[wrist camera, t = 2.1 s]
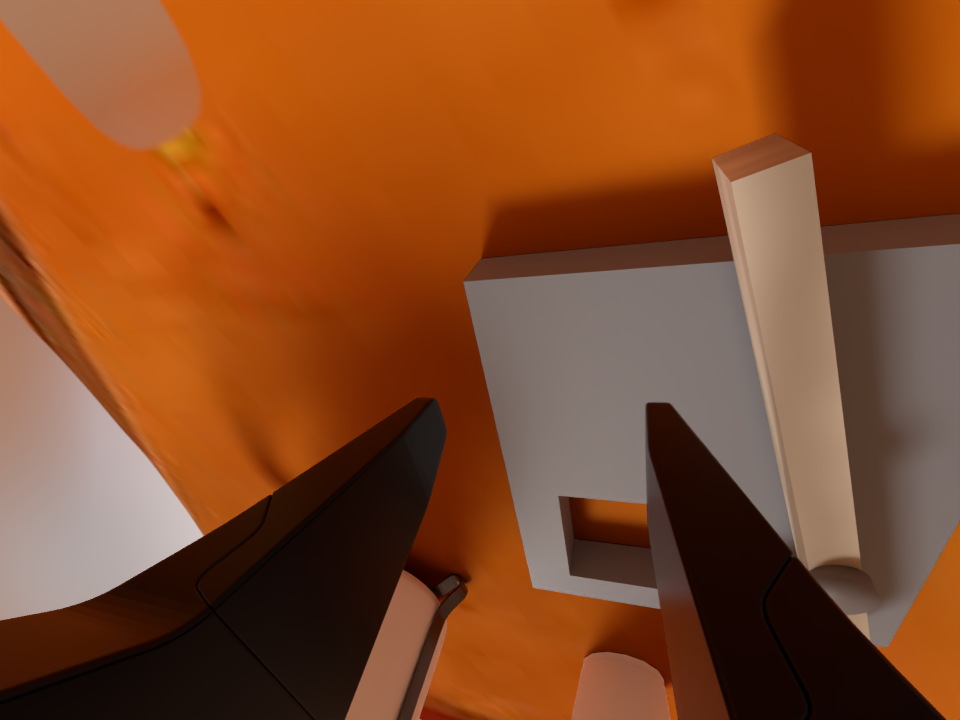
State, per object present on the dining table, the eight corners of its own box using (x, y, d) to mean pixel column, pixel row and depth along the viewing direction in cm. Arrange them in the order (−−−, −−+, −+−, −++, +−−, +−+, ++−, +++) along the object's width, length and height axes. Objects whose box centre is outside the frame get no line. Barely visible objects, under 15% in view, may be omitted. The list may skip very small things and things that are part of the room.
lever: (785, 128, 11) (836, 151, 9) (857, 634, 21) (892, 724, 18) (701, 162, 12) (722, 193, 9) (807, 632, 22) (833, 717, 19)
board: (1049, 204, 13) (1124, 231, 11) (866, 598, 24) (887, 647, 22) (480, 258, 19) (463, 281, 17) (539, 552, 30) (533, 587, 28)
